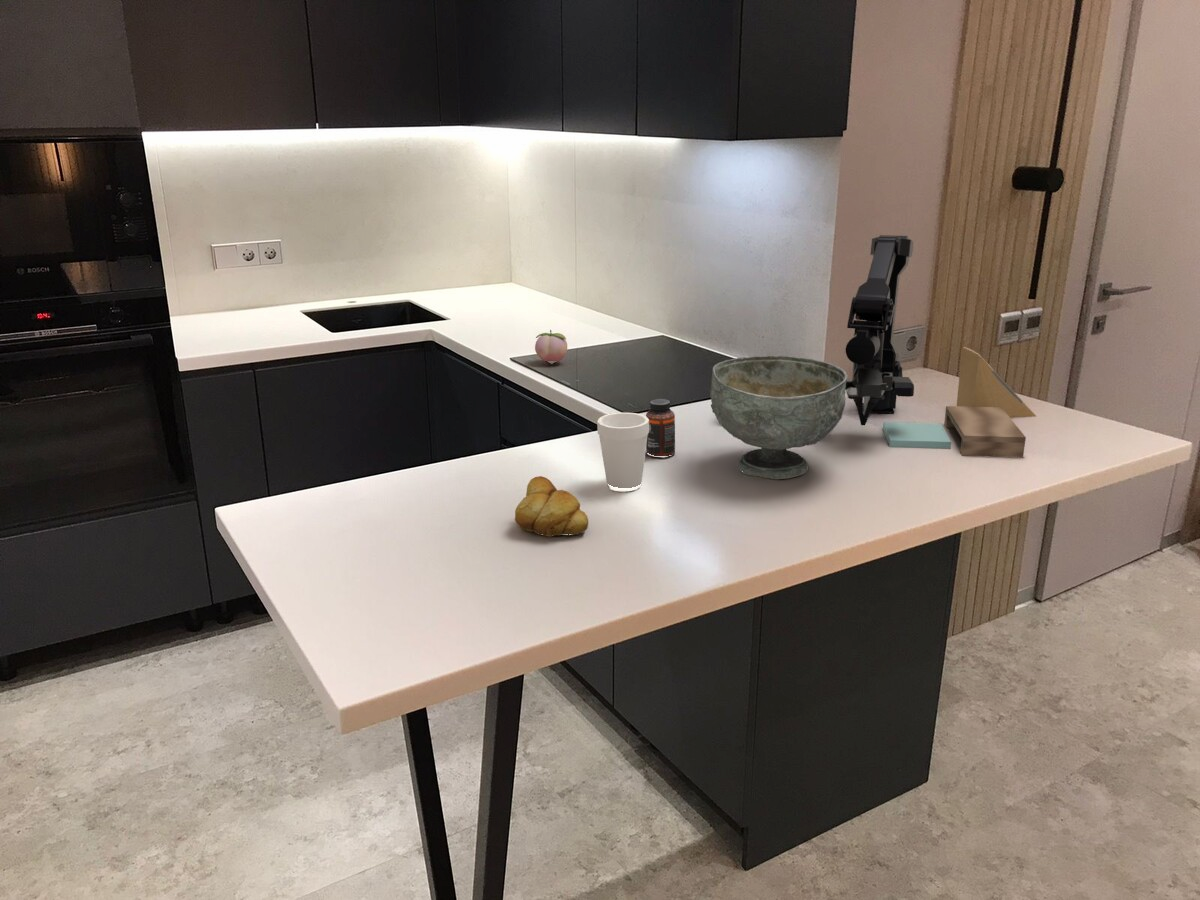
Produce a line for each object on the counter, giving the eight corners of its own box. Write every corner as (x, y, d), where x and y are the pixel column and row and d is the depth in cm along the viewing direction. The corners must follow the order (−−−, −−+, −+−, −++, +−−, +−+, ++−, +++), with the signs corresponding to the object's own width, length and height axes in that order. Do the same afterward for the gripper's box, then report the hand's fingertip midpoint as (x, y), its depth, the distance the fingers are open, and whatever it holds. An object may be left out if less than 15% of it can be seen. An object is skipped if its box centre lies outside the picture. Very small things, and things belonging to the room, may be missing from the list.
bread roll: (599, 528, 158) (598, 484, 155) (565, 549, 150) (563, 504, 148) (540, 512, 165) (538, 470, 162) (504, 532, 157) (501, 488, 155)
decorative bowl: (762, 434, 200) (765, 344, 192) (869, 464, 183) (876, 367, 175) (681, 472, 183) (681, 374, 175) (790, 509, 166) (795, 403, 158)
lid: (889, 449, 192) (890, 440, 192) (882, 430, 203) (883, 422, 203) (950, 451, 190) (951, 441, 190) (939, 432, 202) (940, 423, 201)
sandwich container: (1038, 417, 208) (1048, 352, 203) (972, 420, 208) (979, 354, 202) (1019, 406, 217) (1028, 343, 211) (955, 409, 216) (962, 345, 211)
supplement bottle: (679, 451, 193) (679, 398, 189) (669, 460, 188) (669, 407, 184) (652, 448, 195) (652, 396, 191) (641, 457, 190) (641, 404, 186)
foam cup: (613, 499, 170) (612, 431, 165) (590, 482, 177) (588, 417, 173) (658, 488, 174) (658, 422, 169) (634, 473, 181) (633, 409, 177)
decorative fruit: (572, 361, 266) (571, 326, 263) (564, 368, 259) (563, 333, 255) (540, 360, 268) (539, 326, 265) (532, 367, 261) (530, 332, 257)
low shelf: (962, 455, 186) (964, 435, 185) (944, 424, 205) (946, 406, 203) (1023, 457, 184) (1025, 437, 183) (999, 425, 203) (1001, 407, 202)
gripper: (824, 362, 186) (819, 435, 192) (921, 363, 183) (914, 438, 189) (821, 348, 197) (817, 419, 202) (912, 350, 194) (906, 421, 199)
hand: (862, 424), depth 198 cm, fingers closed
